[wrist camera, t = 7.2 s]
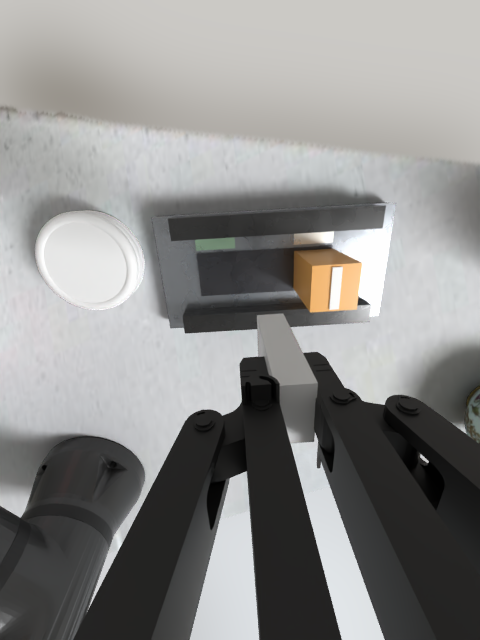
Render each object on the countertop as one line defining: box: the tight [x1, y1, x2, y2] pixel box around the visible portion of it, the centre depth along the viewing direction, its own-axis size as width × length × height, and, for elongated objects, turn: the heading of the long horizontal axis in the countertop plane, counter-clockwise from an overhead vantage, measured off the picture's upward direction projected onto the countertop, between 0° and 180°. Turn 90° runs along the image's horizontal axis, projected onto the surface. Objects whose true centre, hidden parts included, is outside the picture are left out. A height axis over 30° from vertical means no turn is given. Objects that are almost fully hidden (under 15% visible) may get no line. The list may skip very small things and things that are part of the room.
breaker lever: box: [293, 249, 362, 312], centre depth 26 cm, size 4×4×7 cm
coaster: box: [35, 210, 145, 310], centre depth 29 cm, size 10×10×4 cm
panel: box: [152, 203, 396, 333], centre depth 29 cm, size 24×12×4 cm, turn 93°
